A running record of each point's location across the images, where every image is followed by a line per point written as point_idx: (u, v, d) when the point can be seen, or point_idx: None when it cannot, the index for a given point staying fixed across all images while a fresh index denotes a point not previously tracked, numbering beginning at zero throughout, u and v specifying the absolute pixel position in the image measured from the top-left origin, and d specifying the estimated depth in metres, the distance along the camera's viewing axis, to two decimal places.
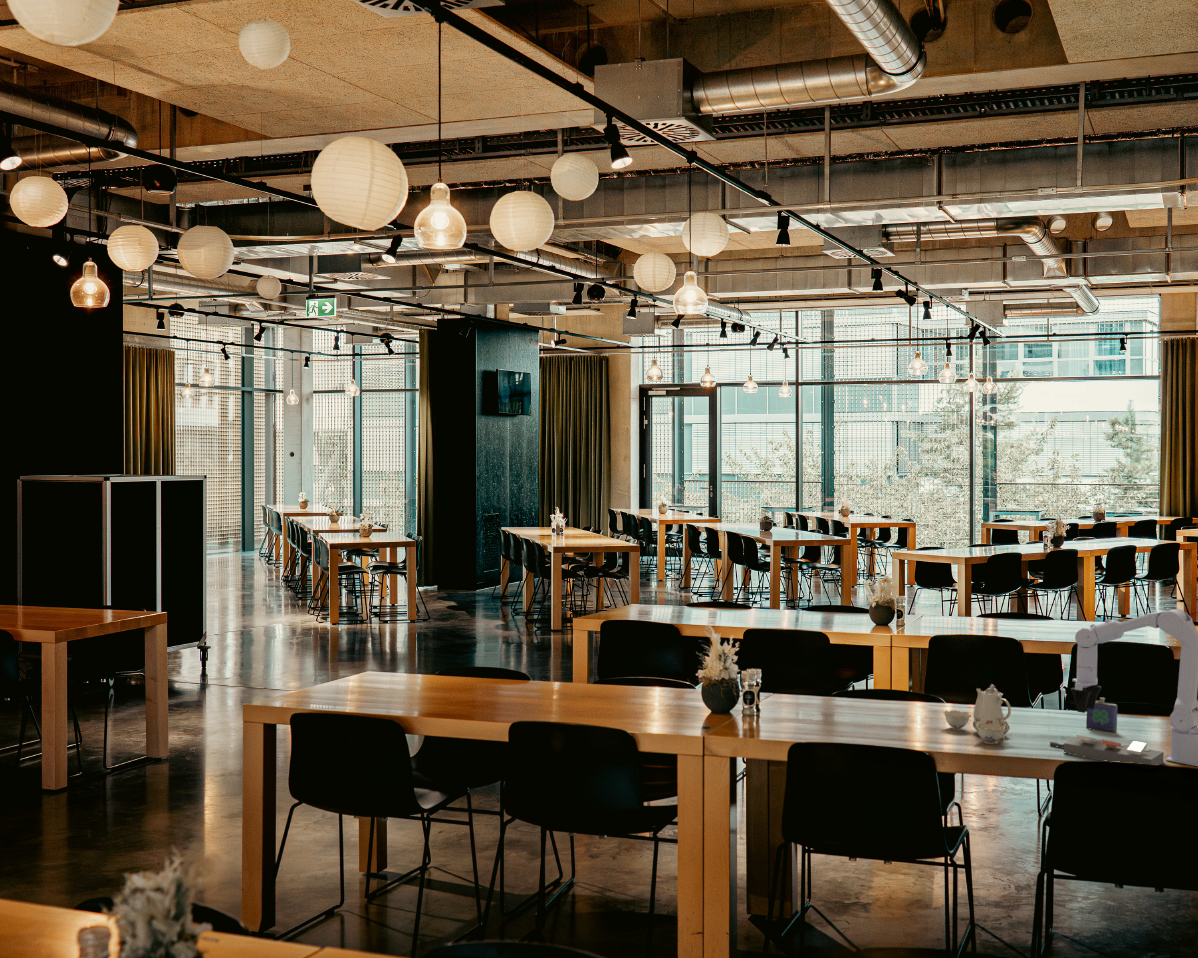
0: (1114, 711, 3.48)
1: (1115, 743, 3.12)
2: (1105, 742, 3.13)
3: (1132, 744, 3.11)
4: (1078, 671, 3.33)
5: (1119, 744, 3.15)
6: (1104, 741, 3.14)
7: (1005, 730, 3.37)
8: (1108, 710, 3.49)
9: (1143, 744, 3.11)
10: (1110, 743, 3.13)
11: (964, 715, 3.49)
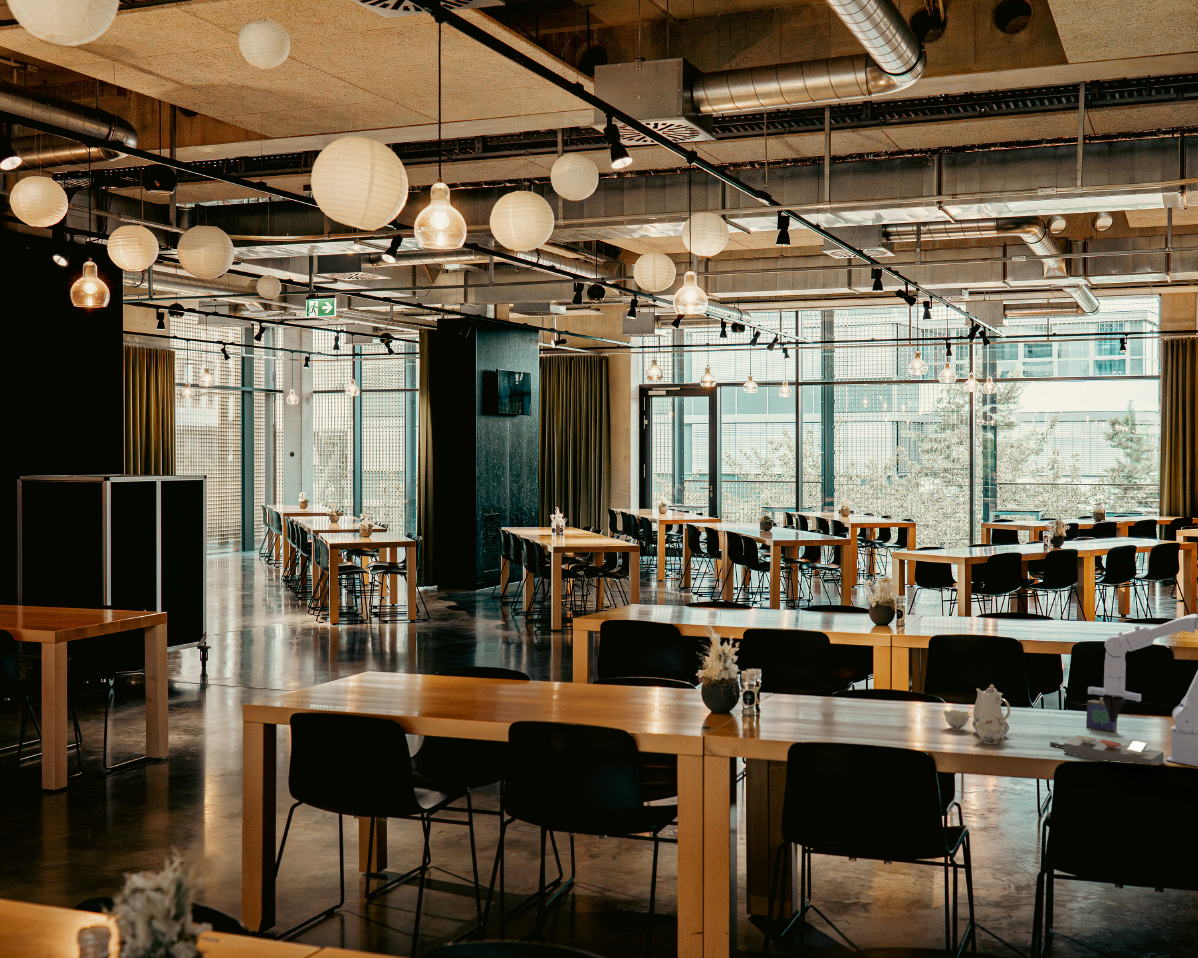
0: None
1: (1115, 743, 3.12)
2: (1105, 742, 3.13)
3: (1132, 744, 3.11)
4: None
5: (1119, 744, 3.15)
6: (1104, 741, 3.14)
7: (1005, 730, 3.37)
8: None
9: (1143, 744, 3.11)
10: (1110, 743, 3.13)
11: (964, 715, 3.49)
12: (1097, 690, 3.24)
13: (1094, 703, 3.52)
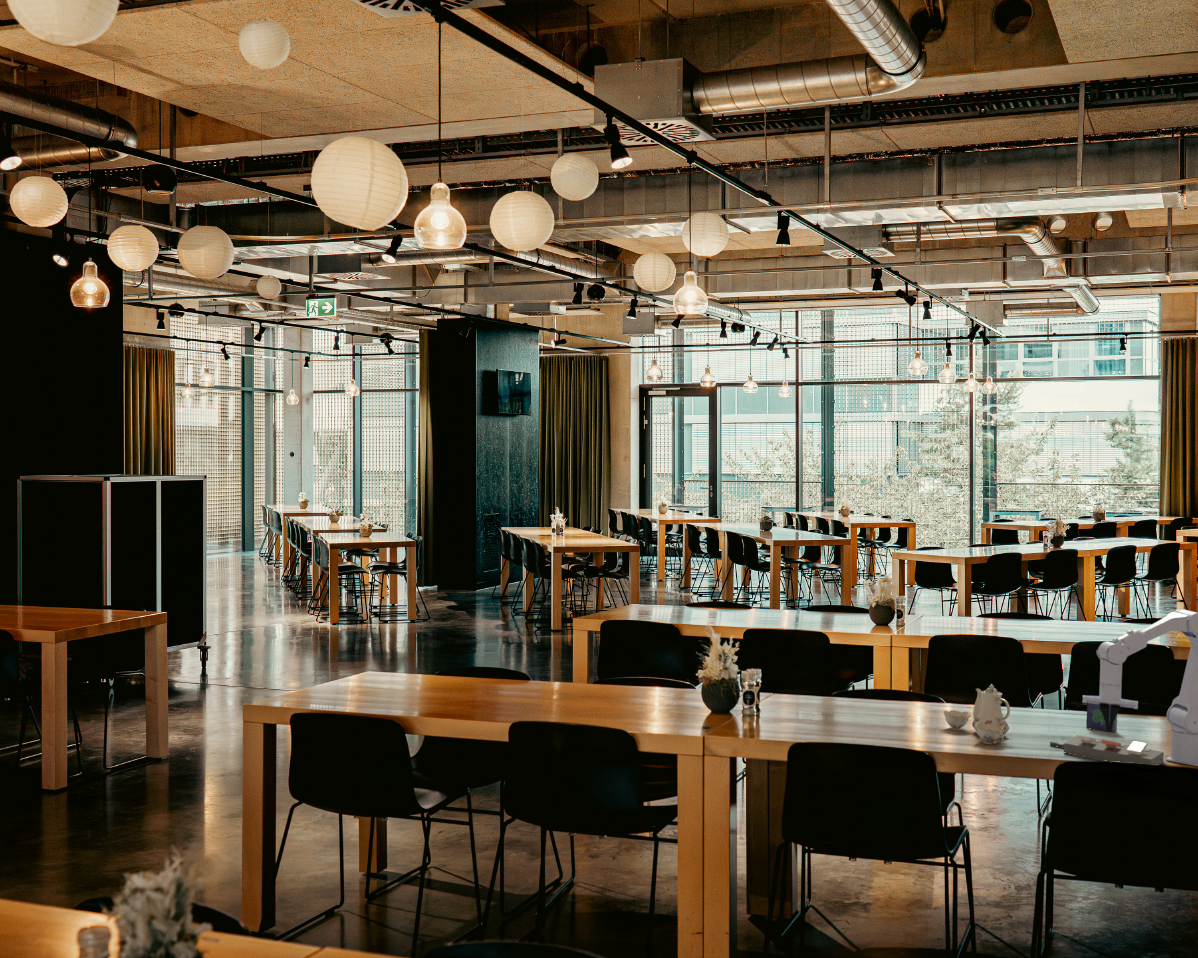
0: None
1: (1115, 743, 3.12)
2: (1105, 742, 3.13)
3: (1132, 744, 3.11)
4: None
5: (1119, 744, 3.15)
6: (1104, 741, 3.14)
7: (1004, 730, 3.37)
8: None
9: (1143, 744, 3.11)
10: (1110, 743, 3.13)
11: (964, 715, 3.49)
12: (1093, 699, 3.14)
13: None
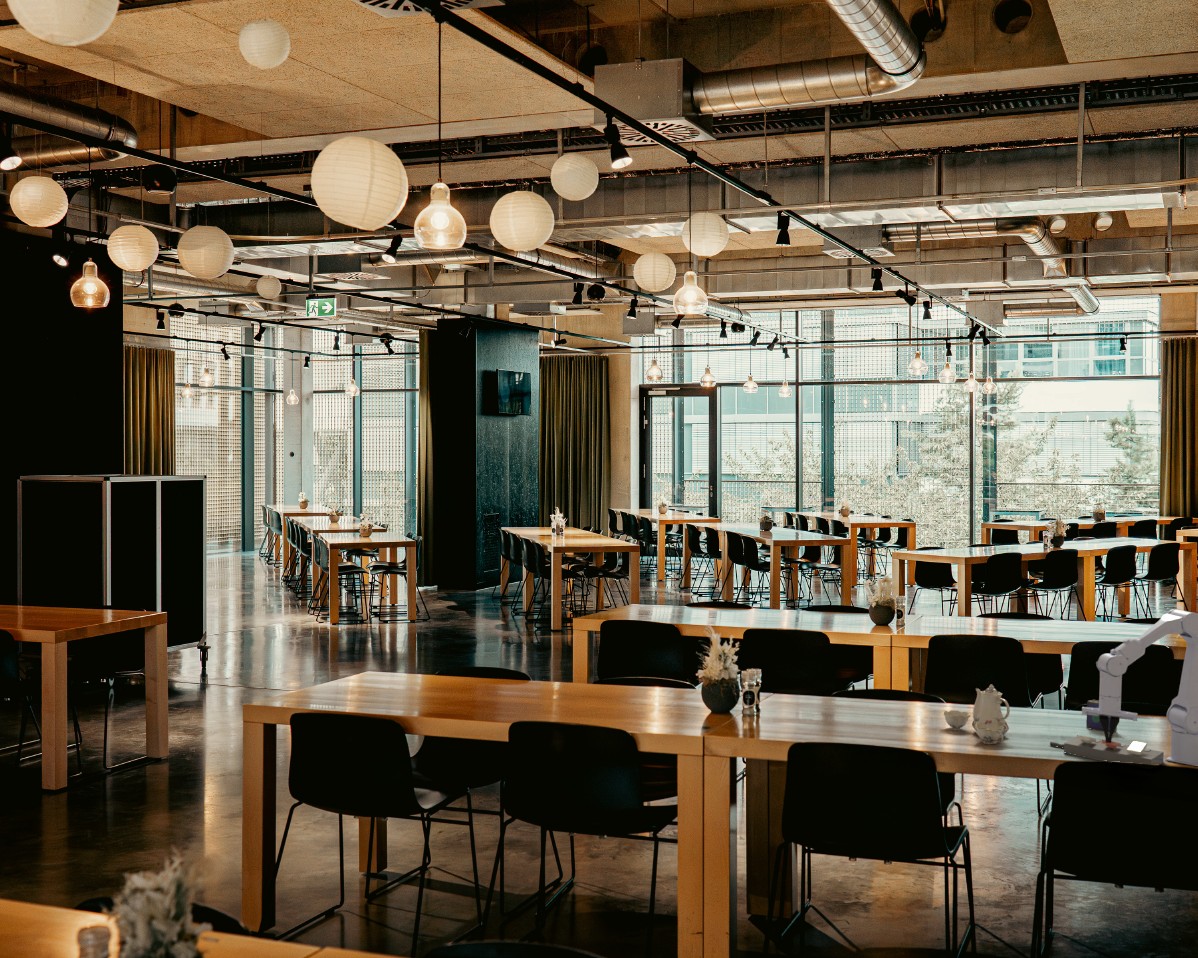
0: None
1: (1115, 743, 3.12)
2: (1105, 742, 3.13)
3: (1132, 744, 3.11)
4: None
5: (1119, 744, 3.15)
6: (1104, 741, 3.14)
7: (1004, 730, 3.37)
8: None
9: (1143, 744, 3.11)
10: (1110, 743, 3.13)
11: (963, 715, 3.49)
12: (1093, 711, 3.14)
13: (1094, 703, 3.52)
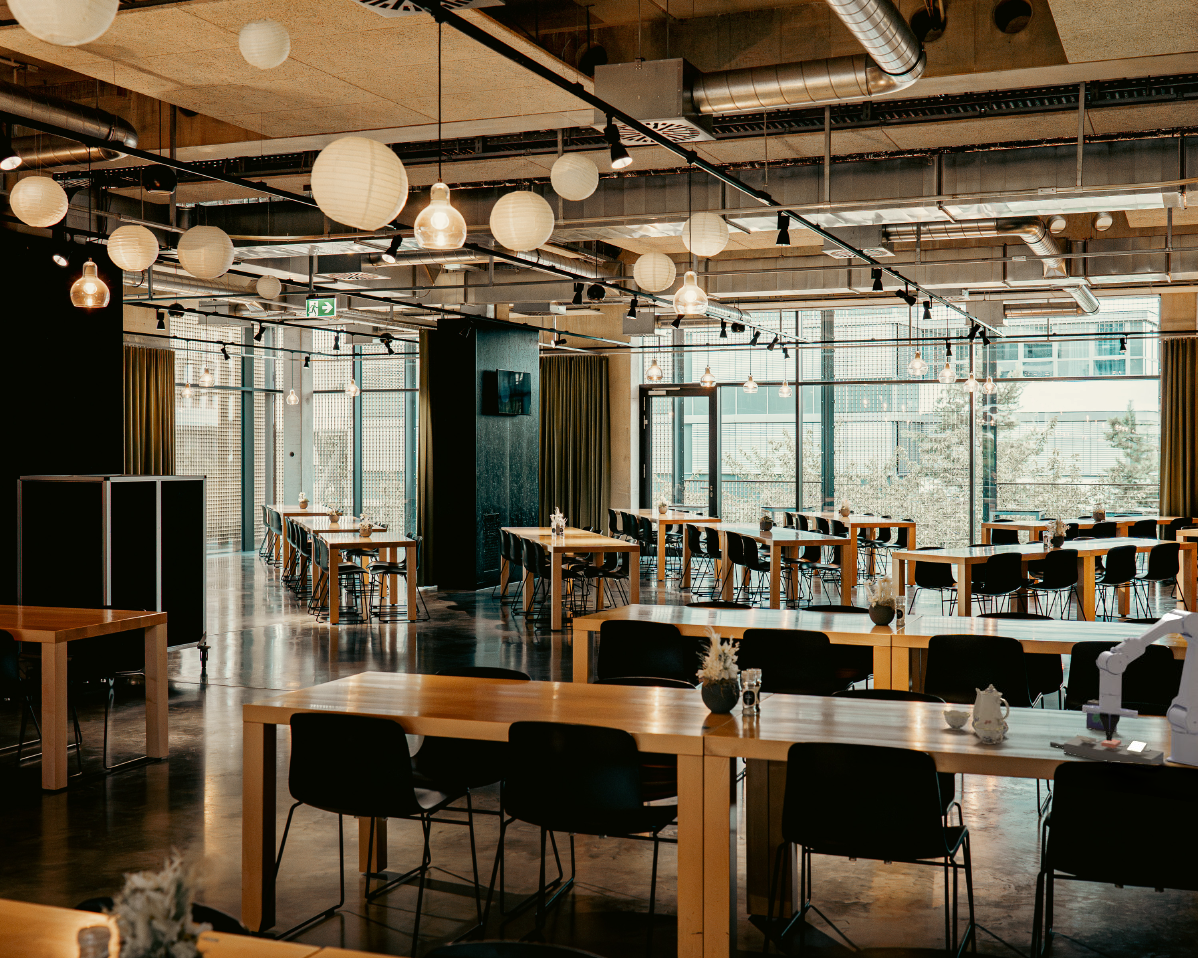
0: None
1: (1115, 745, 3.12)
2: (1105, 745, 3.13)
3: (1132, 744, 3.11)
4: None
5: (1119, 743, 3.15)
6: (1104, 744, 3.14)
7: (1004, 730, 3.37)
8: None
9: (1143, 744, 3.11)
10: (1110, 746, 3.13)
11: (963, 715, 3.49)
12: (1093, 709, 3.14)
13: (1094, 703, 3.52)
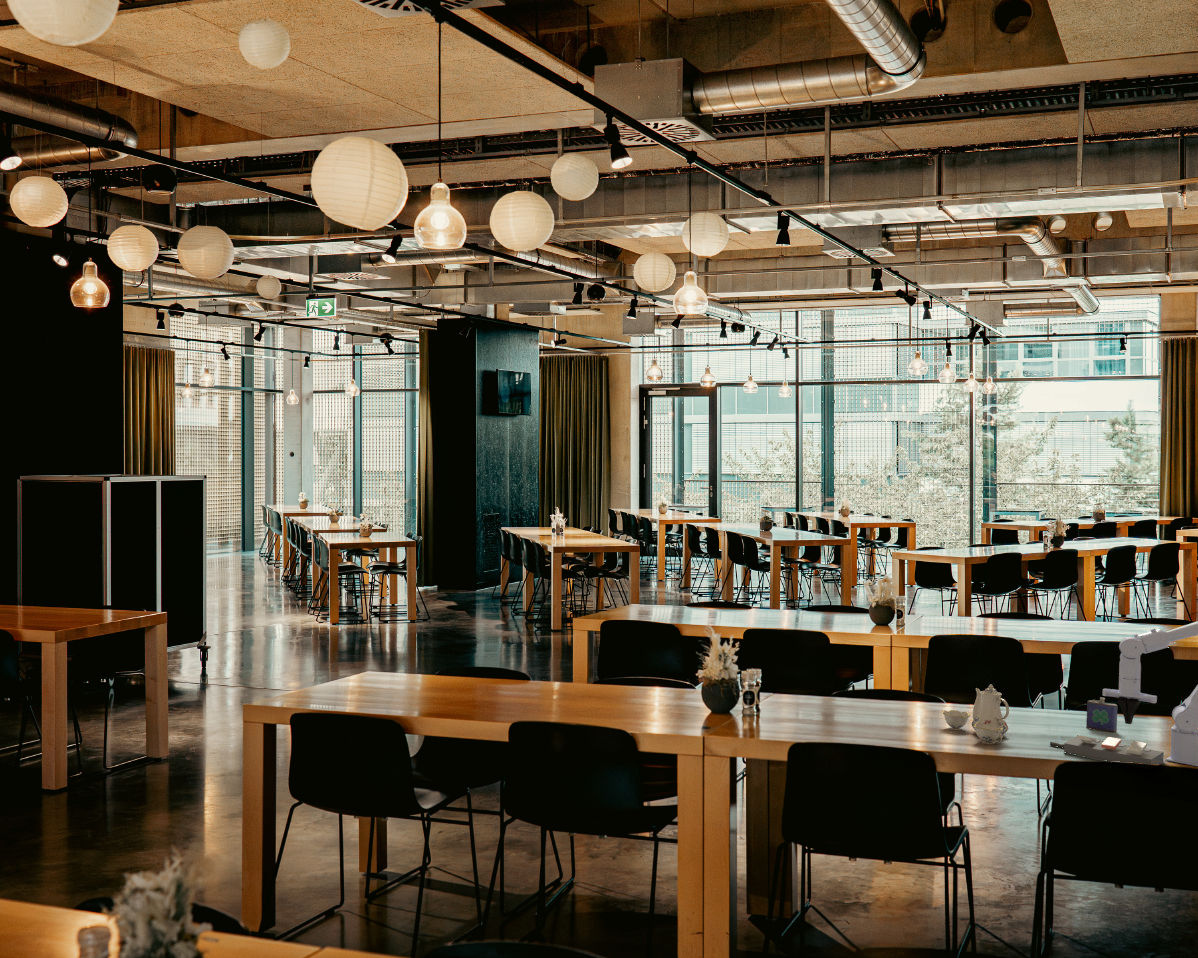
0: (1114, 711, 3.48)
1: (1115, 746, 3.12)
2: (1105, 746, 3.14)
3: (1132, 744, 3.11)
4: None
5: (1119, 742, 3.15)
6: (1104, 745, 3.14)
7: (1003, 730, 3.37)
8: (1108, 710, 3.49)
9: (1143, 744, 3.11)
10: (1110, 747, 3.13)
11: (963, 715, 3.49)
12: (1112, 692, 3.22)
13: (1094, 703, 3.52)
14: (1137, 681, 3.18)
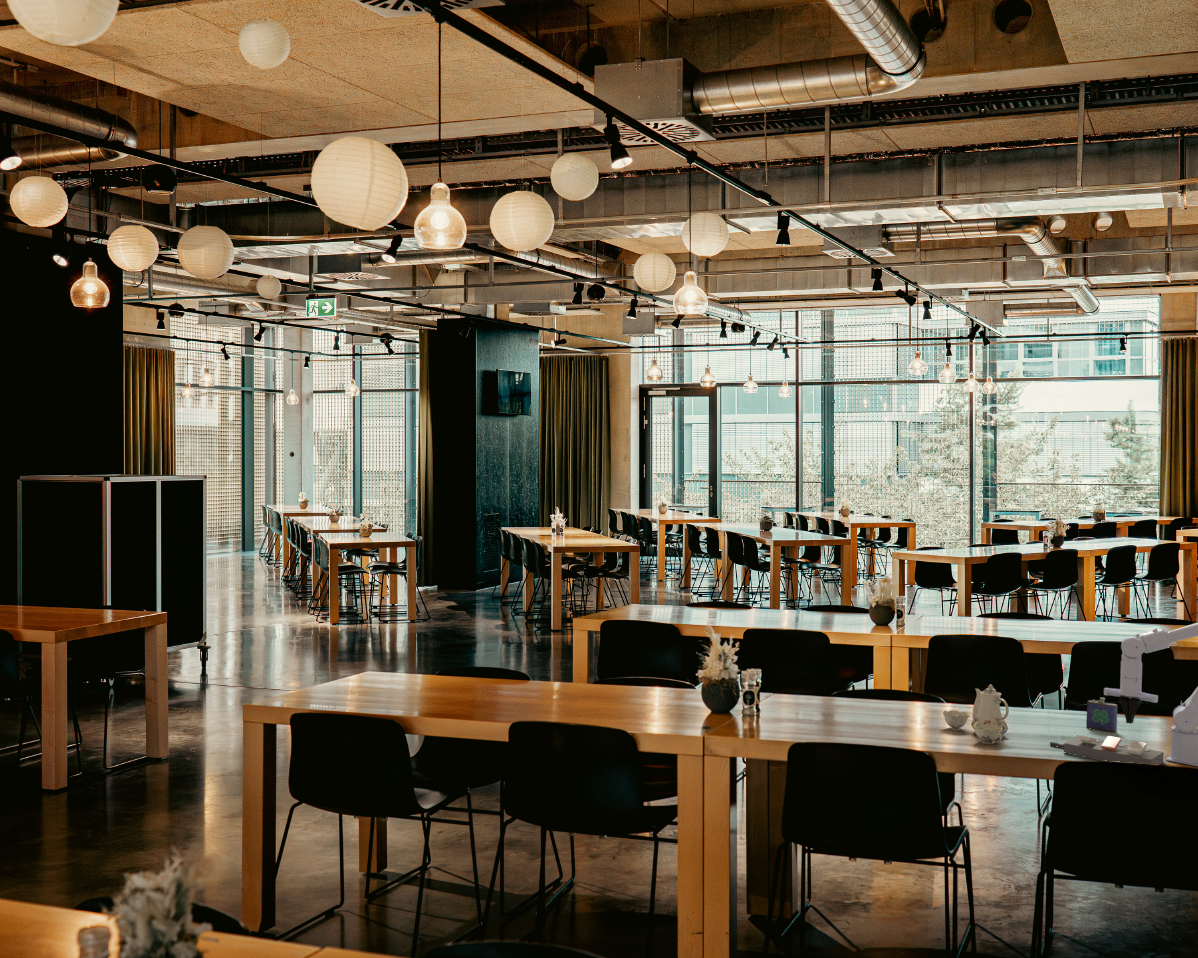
0: (1114, 711, 3.48)
1: (1115, 747, 3.12)
2: (1105, 748, 3.14)
3: (1132, 744, 3.11)
4: None
5: (1119, 741, 3.15)
6: (1104, 747, 3.14)
7: (1003, 730, 3.37)
8: (1108, 710, 3.49)
9: (1143, 744, 3.11)
10: (1110, 749, 3.13)
11: (963, 715, 3.49)
12: (1113, 691, 3.23)
13: (1094, 703, 3.52)
14: (1138, 680, 3.18)
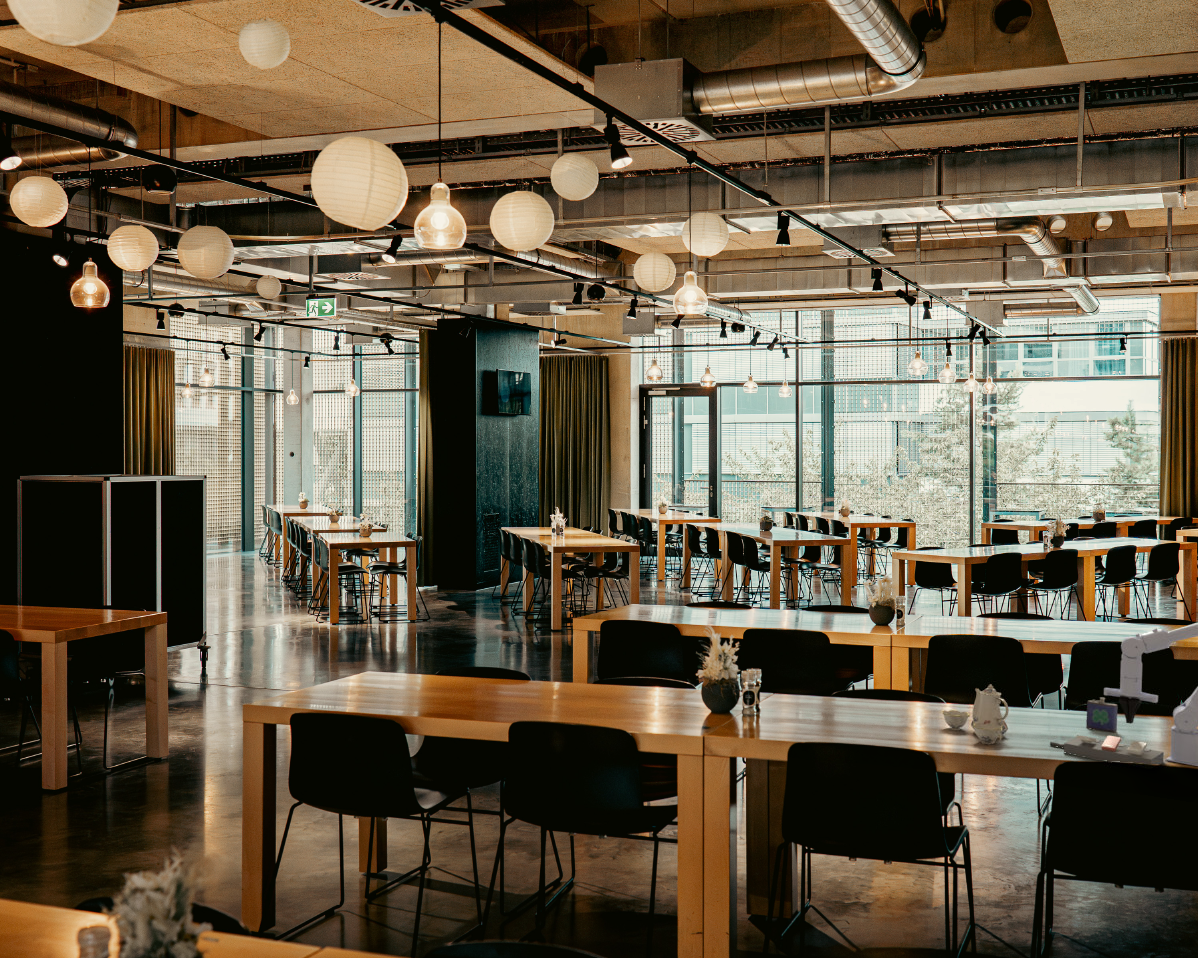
0: (1114, 711, 3.48)
1: (1115, 748, 3.12)
2: (1105, 748, 3.14)
3: (1132, 744, 3.11)
4: None
5: (1119, 741, 3.15)
6: (1104, 747, 3.14)
7: (1003, 730, 3.37)
8: (1108, 710, 3.49)
9: (1143, 744, 3.11)
10: (1110, 749, 3.13)
11: (963, 715, 3.49)
12: (1113, 691, 3.23)
13: (1094, 703, 3.52)
14: (1138, 680, 3.18)
